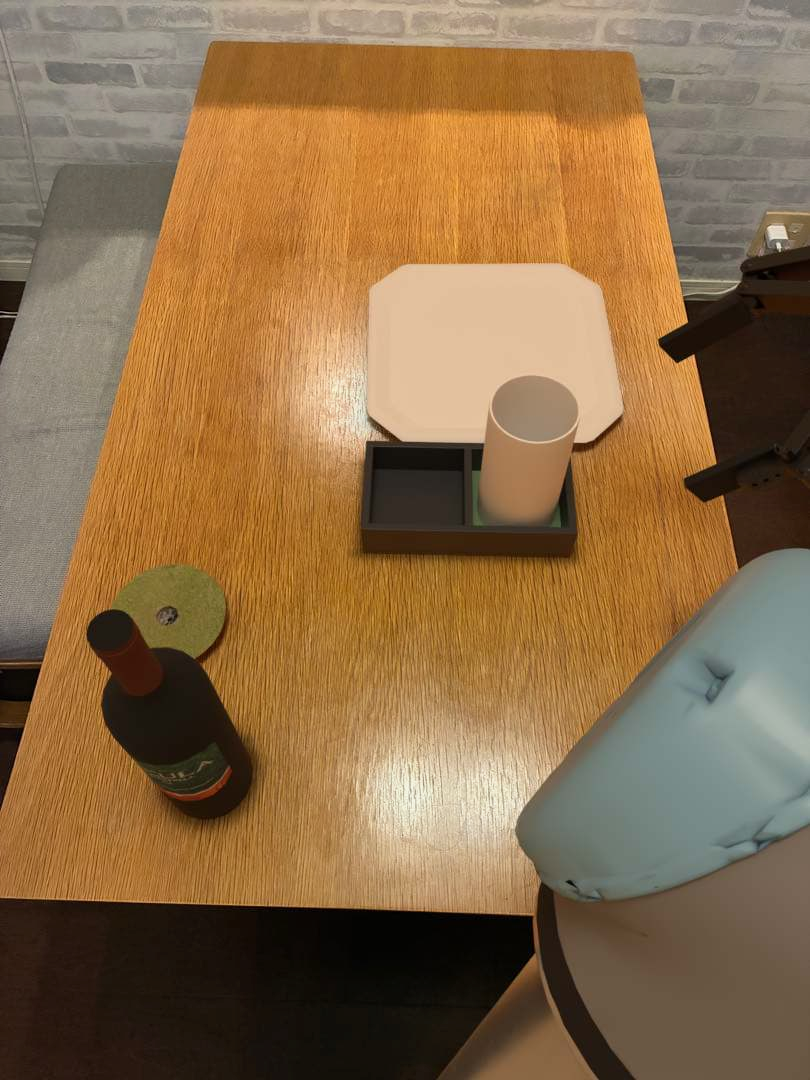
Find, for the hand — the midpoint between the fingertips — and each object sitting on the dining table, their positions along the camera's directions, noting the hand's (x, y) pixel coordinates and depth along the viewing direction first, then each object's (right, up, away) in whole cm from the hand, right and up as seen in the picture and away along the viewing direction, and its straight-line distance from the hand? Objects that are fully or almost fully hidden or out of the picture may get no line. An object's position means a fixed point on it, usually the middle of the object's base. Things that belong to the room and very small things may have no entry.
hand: (679, 417), depth 64 cm
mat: (-44, -18, +19) cm, 51 cm away
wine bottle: (-38, -30, +11) cm, 50 cm away
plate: (-11, +12, +38) cm, 41 cm away
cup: (-9, -6, +26) cm, 28 cm away
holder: (-14, -6, +26) cm, 31 cm away
